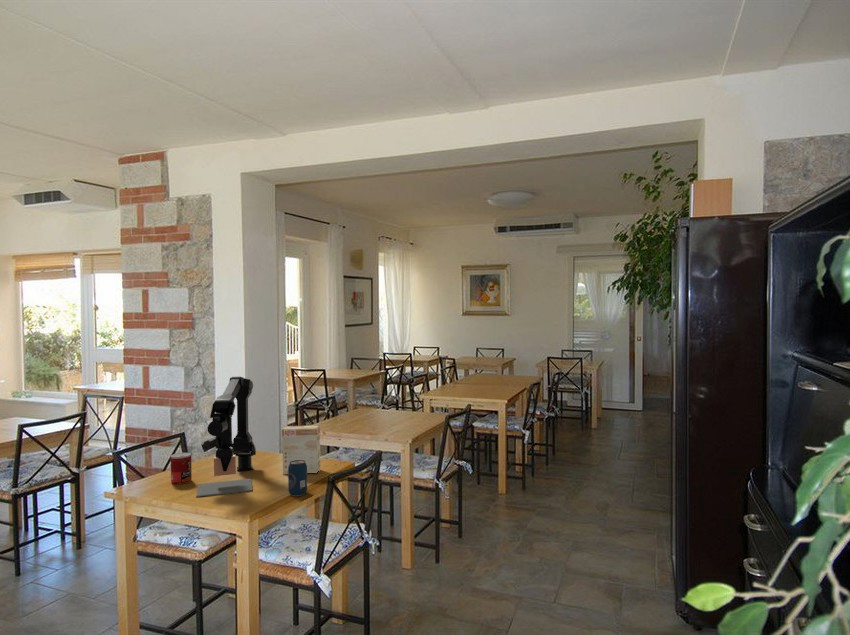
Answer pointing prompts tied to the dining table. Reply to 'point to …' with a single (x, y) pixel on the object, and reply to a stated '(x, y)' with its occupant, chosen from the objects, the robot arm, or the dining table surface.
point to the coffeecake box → (301, 446)
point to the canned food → (181, 468)
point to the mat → (224, 487)
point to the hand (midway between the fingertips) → (224, 470)
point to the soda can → (297, 478)
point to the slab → (219, 470)
